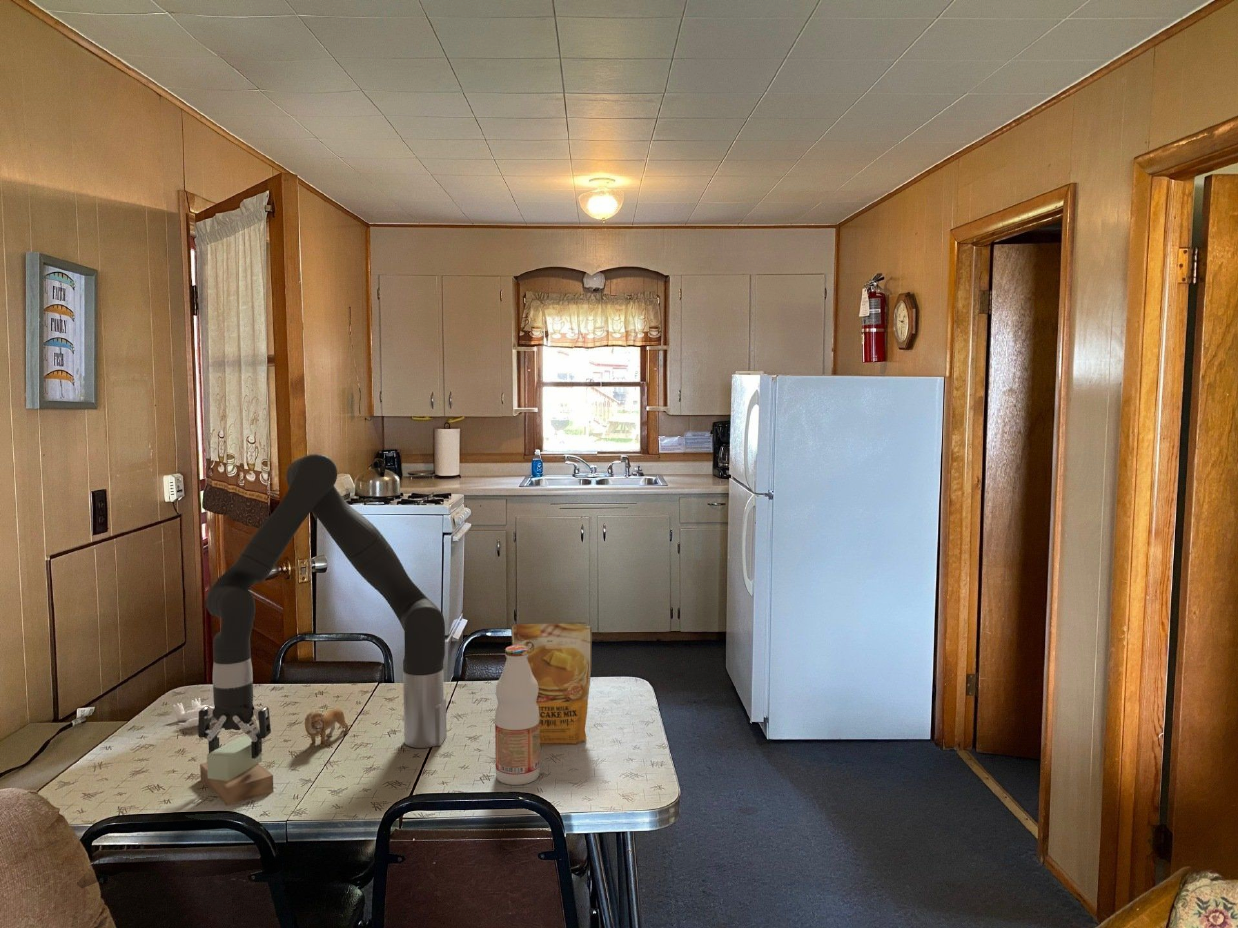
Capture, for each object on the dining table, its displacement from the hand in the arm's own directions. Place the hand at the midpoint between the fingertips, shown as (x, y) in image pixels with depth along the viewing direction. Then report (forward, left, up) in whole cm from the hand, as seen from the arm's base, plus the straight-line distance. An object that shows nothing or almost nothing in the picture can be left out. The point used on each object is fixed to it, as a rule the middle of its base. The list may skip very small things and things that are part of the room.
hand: (235, 756), depth 180 cm
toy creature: (+26, -34, -7) cm, 43 cm away
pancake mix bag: (-63, -27, -6) cm, 69 cm away
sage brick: (0, 0, -3) cm, 3 cm away
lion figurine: (-10, -24, -6) cm, 27 cm away
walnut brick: (0, 0, -7) cm, 7 cm away
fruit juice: (-58, -7, -6) cm, 59 cm away
